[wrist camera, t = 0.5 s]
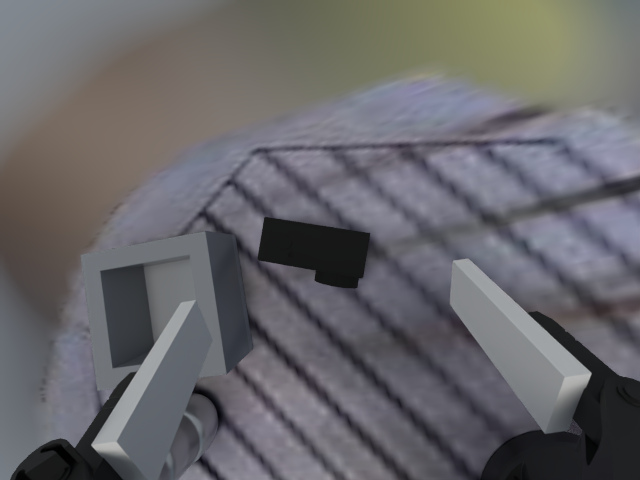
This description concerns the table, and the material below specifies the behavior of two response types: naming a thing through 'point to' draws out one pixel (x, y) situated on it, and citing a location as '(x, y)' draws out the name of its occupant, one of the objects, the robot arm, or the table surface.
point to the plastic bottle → (191, 437)
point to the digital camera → (316, 250)
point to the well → (164, 301)
